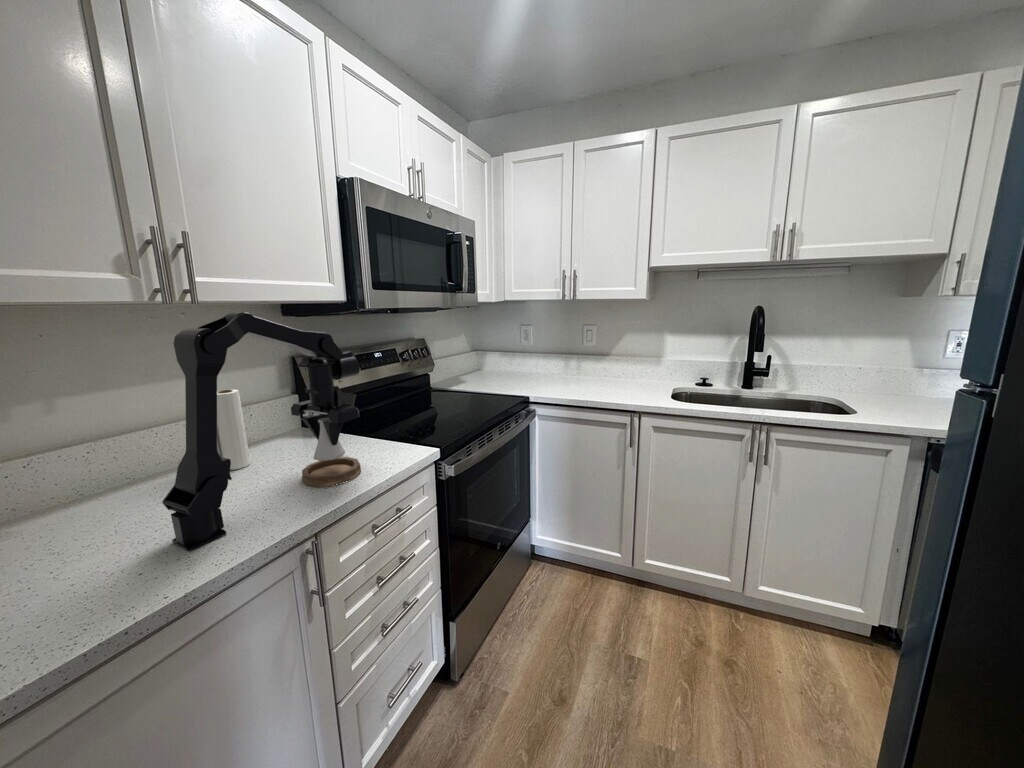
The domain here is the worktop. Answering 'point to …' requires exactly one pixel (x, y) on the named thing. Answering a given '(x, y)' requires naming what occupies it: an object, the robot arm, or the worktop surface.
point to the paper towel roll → (231, 429)
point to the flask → (327, 445)
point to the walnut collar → (330, 472)
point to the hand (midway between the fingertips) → (328, 443)
